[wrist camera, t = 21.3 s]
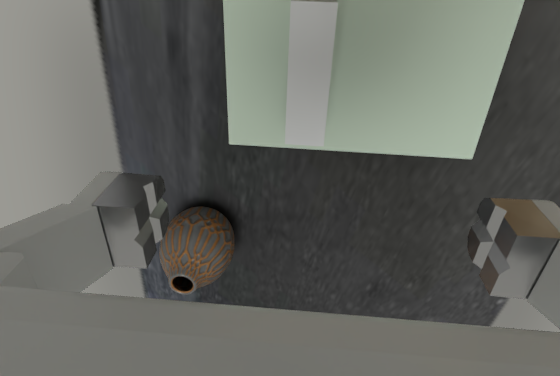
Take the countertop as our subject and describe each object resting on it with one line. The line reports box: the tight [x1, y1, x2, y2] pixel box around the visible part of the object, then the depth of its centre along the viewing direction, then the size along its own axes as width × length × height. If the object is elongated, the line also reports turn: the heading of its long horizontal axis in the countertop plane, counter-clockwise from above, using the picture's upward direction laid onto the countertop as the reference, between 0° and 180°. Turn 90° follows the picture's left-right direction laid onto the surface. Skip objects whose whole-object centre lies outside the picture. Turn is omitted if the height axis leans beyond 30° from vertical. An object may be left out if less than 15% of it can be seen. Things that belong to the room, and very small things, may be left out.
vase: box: [159, 207, 235, 294], centre depth 36 cm, size 7×7×9 cm
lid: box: [223, 0, 525, 159], centre depth 29 cm, size 14×21×5 cm
